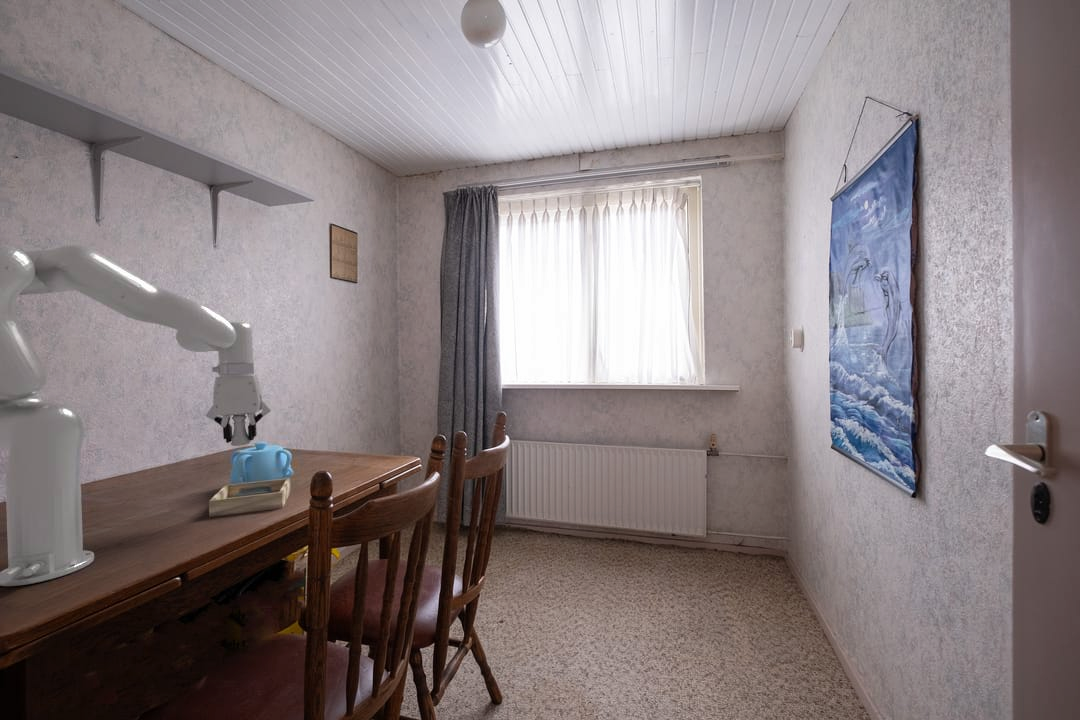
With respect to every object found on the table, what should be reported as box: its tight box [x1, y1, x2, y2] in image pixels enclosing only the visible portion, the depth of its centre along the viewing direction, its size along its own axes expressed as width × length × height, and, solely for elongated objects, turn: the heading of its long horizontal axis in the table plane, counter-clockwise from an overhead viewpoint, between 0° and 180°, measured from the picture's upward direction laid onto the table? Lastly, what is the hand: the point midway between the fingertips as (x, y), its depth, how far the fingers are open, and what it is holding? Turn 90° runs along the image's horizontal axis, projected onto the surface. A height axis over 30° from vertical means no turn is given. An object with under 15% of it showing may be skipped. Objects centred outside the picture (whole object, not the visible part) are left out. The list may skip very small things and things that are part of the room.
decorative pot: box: [229, 441, 294, 484], centre depth 142 cm, size 16×16×14 cm
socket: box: [233, 485, 272, 497], centre depth 125 cm, size 8×8×3 cm
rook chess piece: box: [229, 414, 251, 447], centre depth 119 cm, size 4×4×8 cm
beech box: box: [208, 477, 291, 518], centre depth 125 cm, size 16×16×4 cm
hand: (240, 439), depth 119 cm, fingers closed on rook chess piece, 4 cm apart
